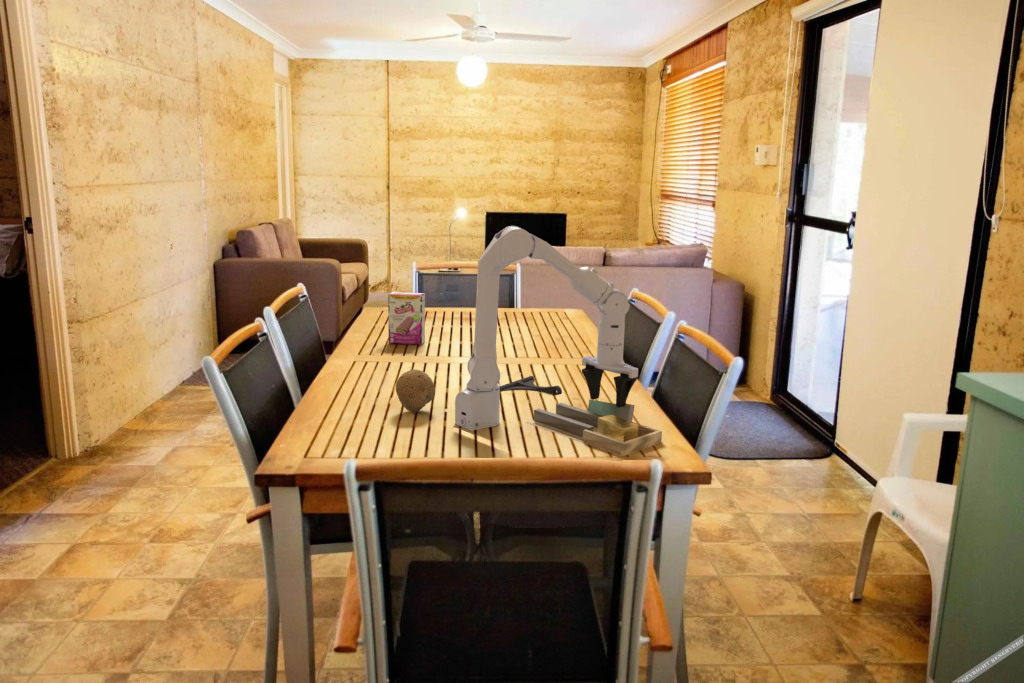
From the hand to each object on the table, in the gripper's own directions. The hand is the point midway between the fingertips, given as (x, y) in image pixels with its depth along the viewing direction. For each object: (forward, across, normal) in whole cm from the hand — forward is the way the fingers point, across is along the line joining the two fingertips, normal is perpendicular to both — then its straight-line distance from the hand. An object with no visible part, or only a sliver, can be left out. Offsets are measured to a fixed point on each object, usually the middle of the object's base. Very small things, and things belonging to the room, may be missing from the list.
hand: (607, 402), depth 173 cm
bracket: (+6, +30, -7) cm, 31 cm away
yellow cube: (+4, -13, +10) cm, 16 cm away
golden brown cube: (+4, -9, +9) cm, 13 cm away
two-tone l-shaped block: (+2, -2, -2) cm, 4 cm away
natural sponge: (+5, +34, +28) cm, 44 cm away
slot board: (+5, -4, +9) cm, 11 cm away
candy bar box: (+5, +96, -13) cm, 97 cm away
